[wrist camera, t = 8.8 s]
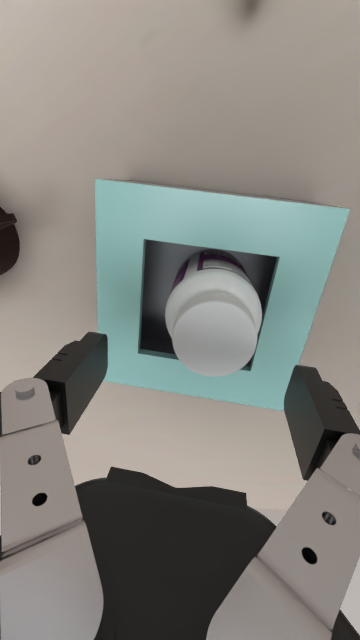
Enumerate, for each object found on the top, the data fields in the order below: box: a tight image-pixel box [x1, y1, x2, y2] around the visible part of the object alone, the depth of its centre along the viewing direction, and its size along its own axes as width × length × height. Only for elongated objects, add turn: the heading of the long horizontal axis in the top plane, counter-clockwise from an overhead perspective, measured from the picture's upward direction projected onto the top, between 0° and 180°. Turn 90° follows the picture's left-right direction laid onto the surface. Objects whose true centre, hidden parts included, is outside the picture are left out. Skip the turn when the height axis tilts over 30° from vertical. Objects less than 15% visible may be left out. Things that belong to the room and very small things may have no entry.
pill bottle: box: [165, 250, 262, 377], centre depth 18 cm, size 5×5×10 cm
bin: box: [95, 179, 350, 411], centre depth 20 cm, size 13×13×6 cm
